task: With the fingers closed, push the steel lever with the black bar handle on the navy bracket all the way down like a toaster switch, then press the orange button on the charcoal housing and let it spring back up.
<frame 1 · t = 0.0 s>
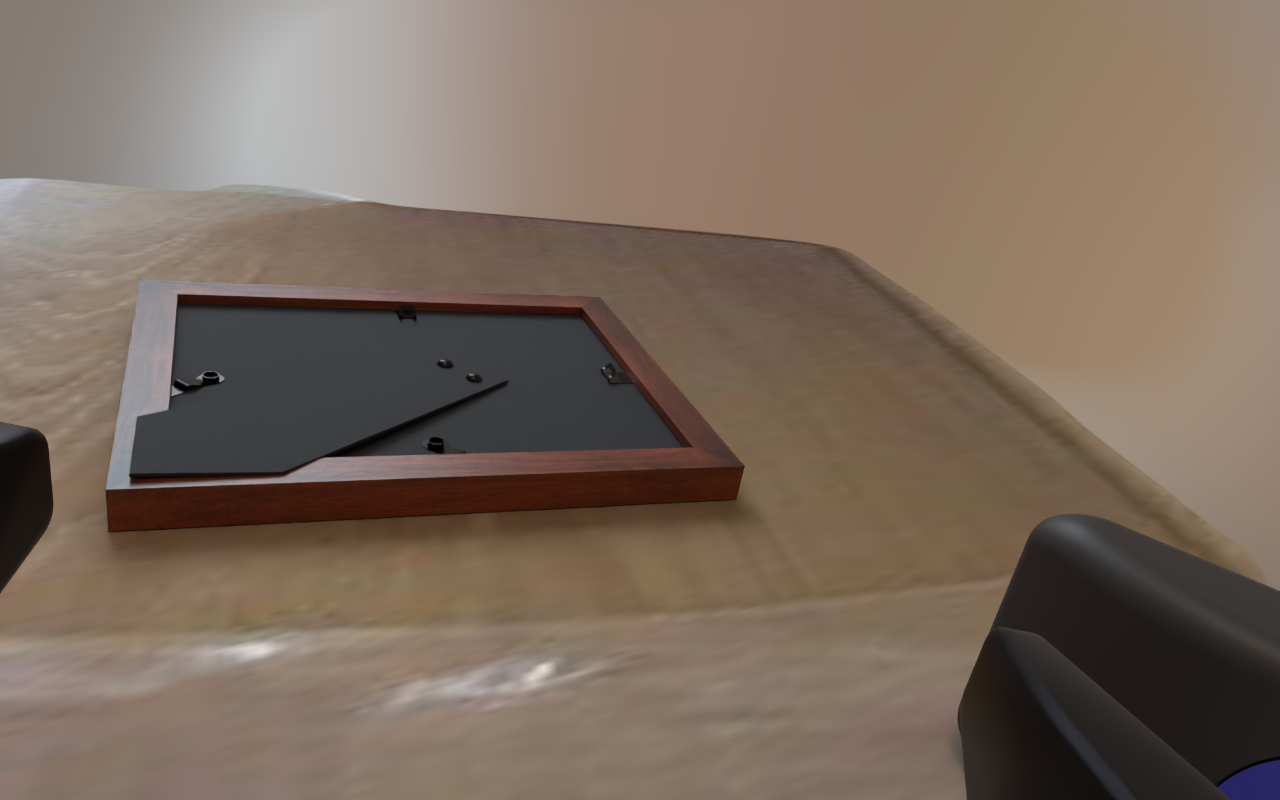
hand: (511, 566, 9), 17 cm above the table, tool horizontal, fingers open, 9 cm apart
picture frame: (418, 402, 48), on the table
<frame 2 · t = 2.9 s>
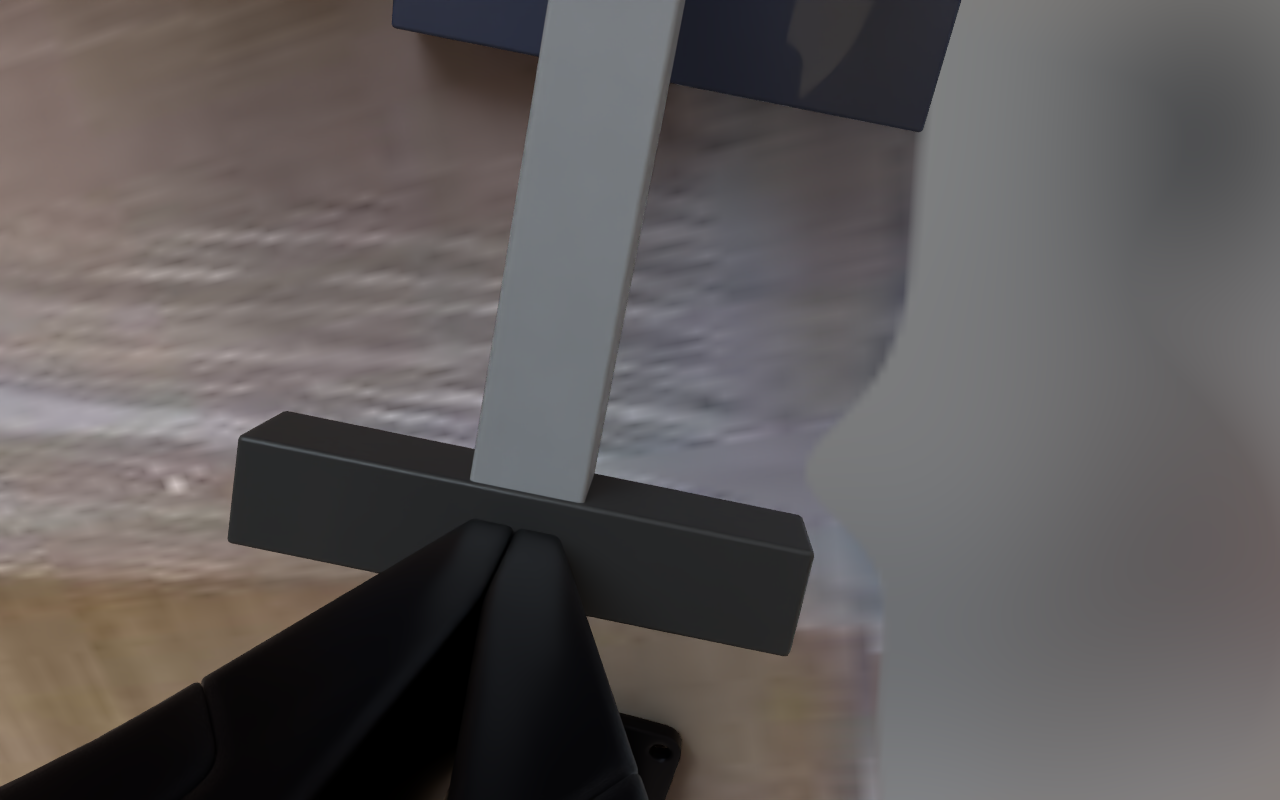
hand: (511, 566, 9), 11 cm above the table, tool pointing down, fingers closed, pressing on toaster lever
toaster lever: (617, 12, 9), point 9 cm above the table, hinge at 12.7°, touching gripper
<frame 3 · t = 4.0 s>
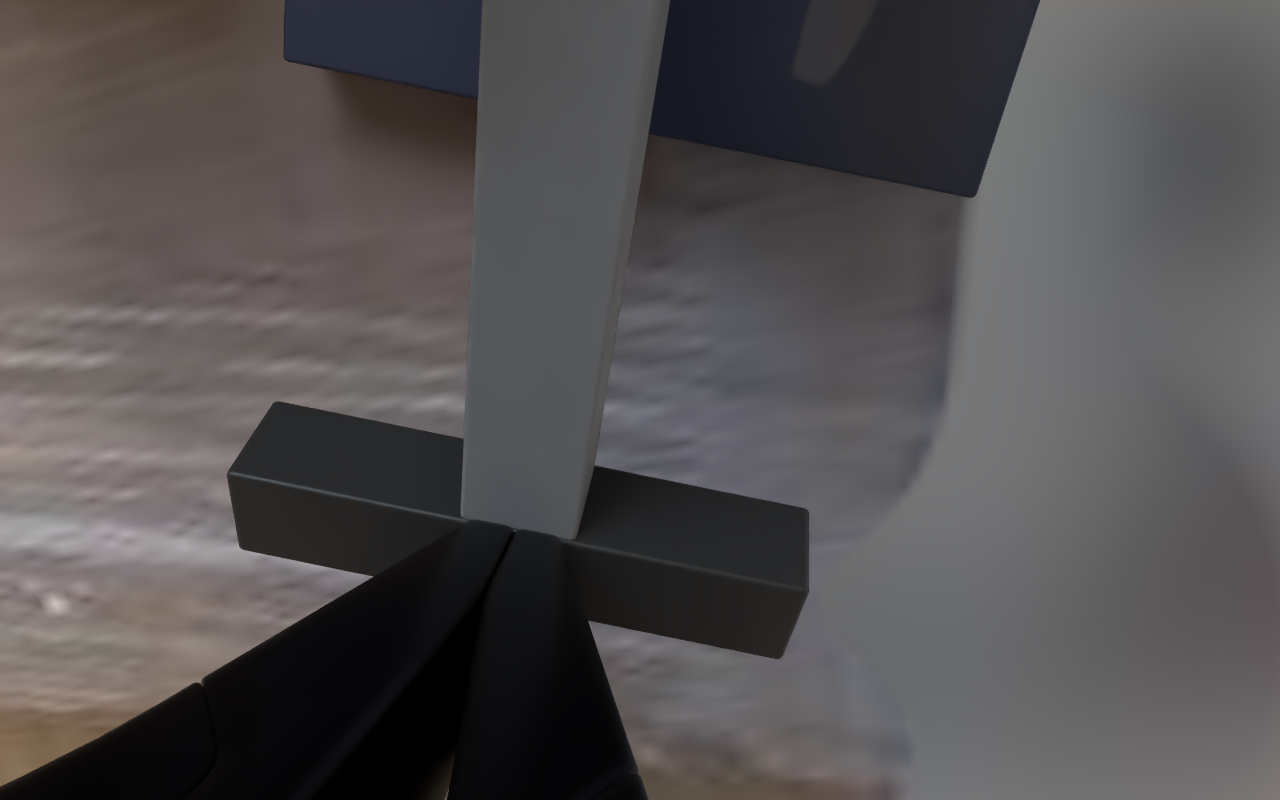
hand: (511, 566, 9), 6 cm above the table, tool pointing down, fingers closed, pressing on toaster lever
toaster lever: (577, 42, 7), point 7 cm above the table, hinge at -14.9°, touching gripper
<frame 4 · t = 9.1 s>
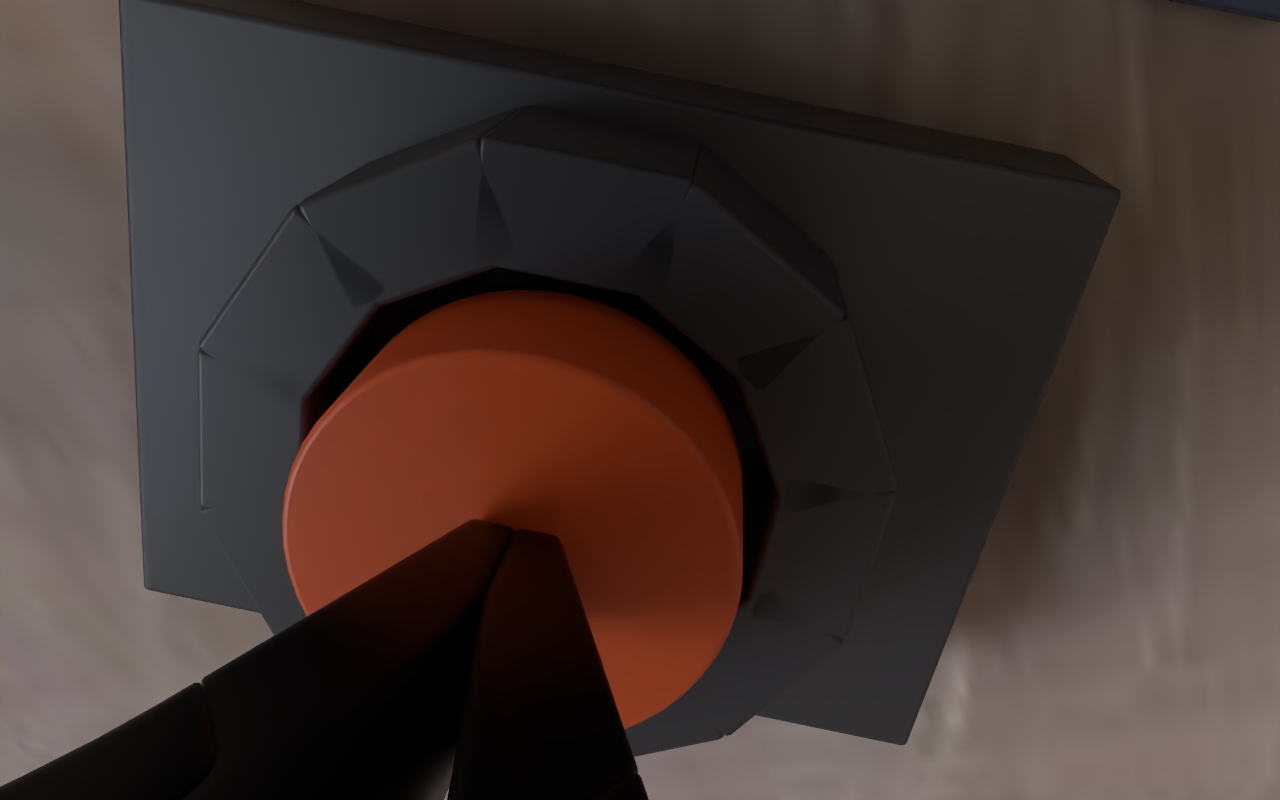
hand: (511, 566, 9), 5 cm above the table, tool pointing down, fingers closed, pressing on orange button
orange button: (525, 520, 10), point 4 cm above the table, slide at 0.0 cm, touching gripper
button housing: (586, 358, 14), on the table
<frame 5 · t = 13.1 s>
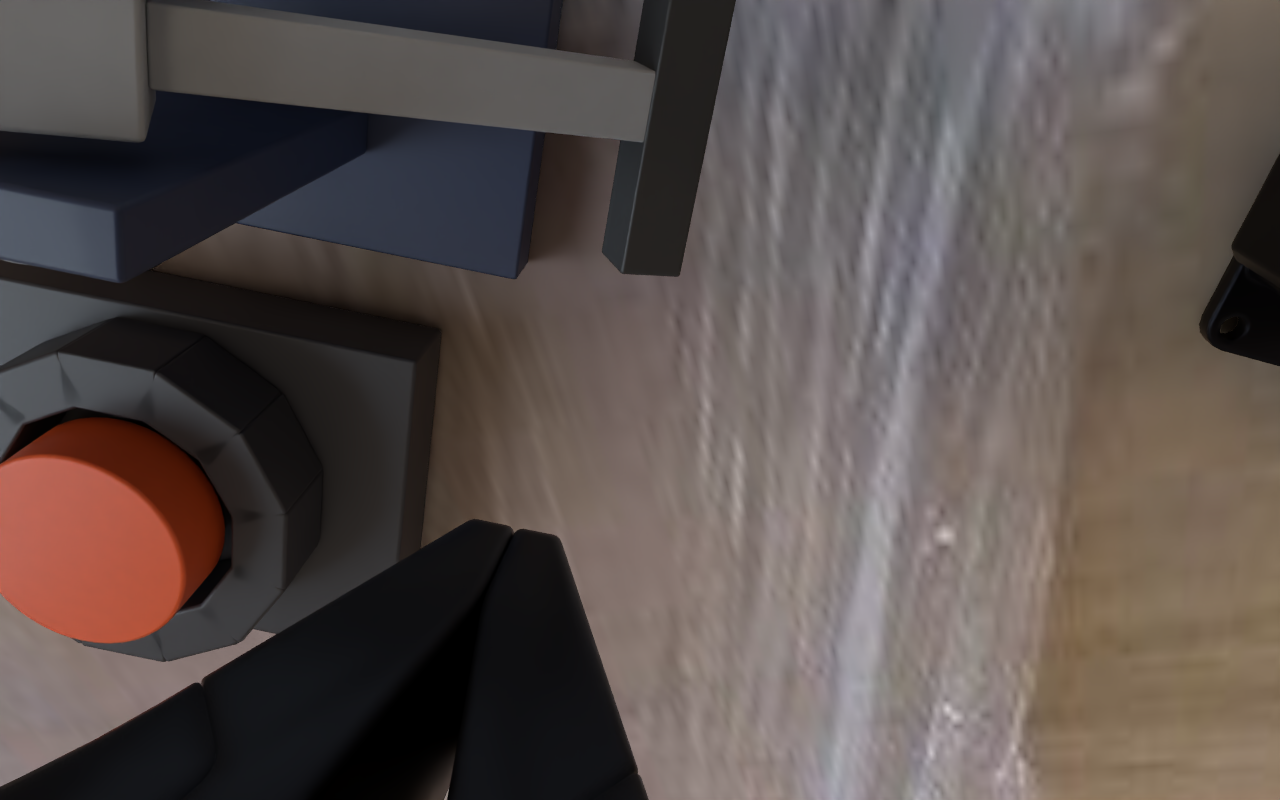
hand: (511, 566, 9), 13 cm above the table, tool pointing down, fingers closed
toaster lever: (356, 66, 14), point 6 cm above the table, hinge at -26.1°
orange button: (101, 530, 20), point 4 cm above the table, slide at 0.1 cm
button housing: (208, 433, 24), on the table
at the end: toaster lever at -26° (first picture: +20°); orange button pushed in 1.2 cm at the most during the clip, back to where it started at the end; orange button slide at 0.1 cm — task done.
